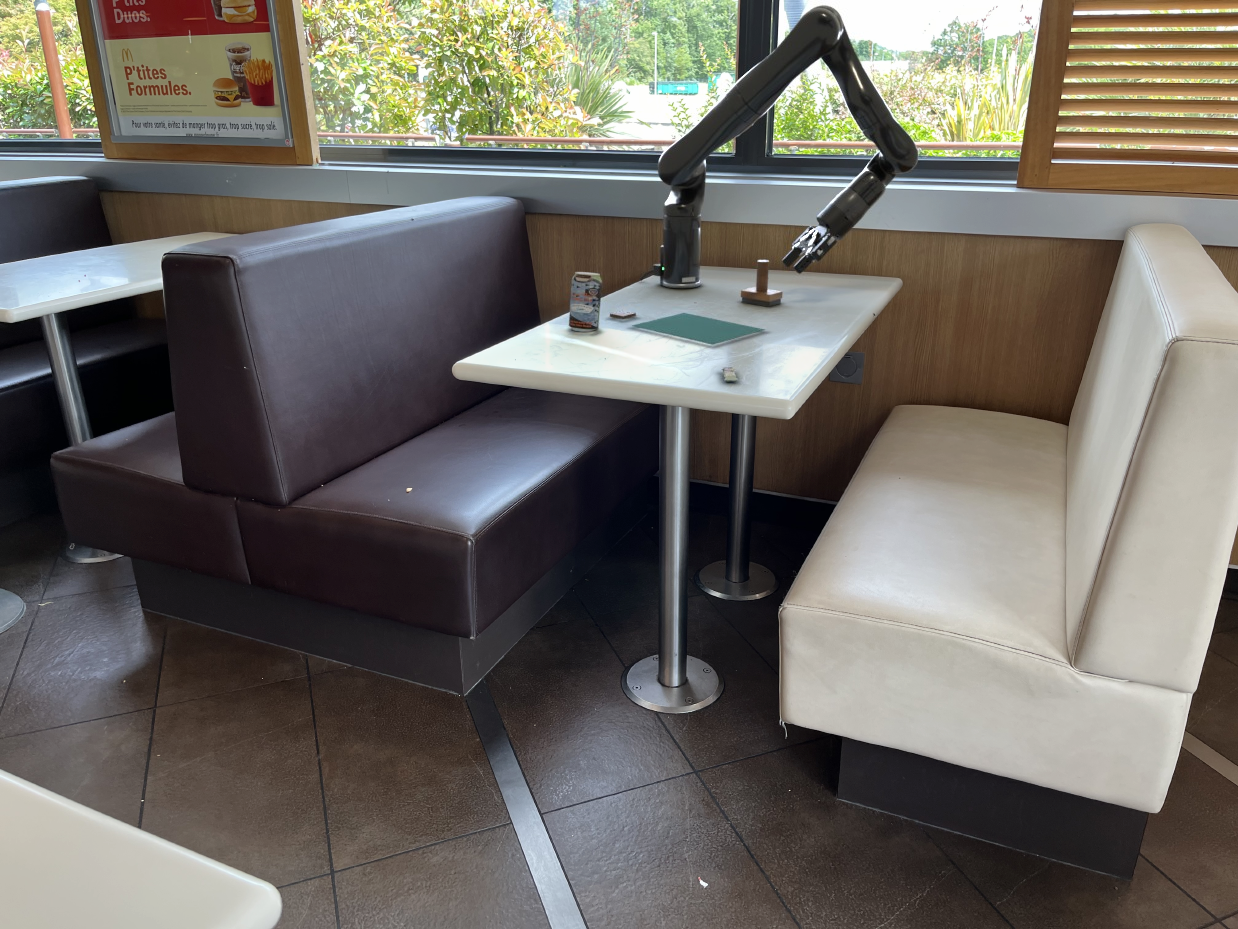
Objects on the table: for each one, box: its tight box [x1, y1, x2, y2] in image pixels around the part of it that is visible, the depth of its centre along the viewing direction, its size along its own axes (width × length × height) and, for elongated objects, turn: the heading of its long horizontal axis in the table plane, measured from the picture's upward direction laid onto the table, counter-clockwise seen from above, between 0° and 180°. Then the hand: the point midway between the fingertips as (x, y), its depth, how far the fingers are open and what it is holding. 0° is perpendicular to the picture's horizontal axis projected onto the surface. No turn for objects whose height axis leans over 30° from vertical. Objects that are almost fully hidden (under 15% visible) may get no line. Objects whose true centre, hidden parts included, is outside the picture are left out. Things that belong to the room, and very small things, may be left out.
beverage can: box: [568, 271, 603, 333], centre depth 179 cm, size 6×7×12 cm
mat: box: [631, 312, 766, 345], centre depth 181 cm, size 22×16×1 cm
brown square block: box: [609, 310, 637, 320], centre depth 191 cm, size 4×4×1 cm
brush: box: [740, 259, 783, 308], centre depth 202 cm, size 8×5×10 cm, turn 46°
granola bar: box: [721, 366, 739, 382], centre depth 150 cm, size 7×2×1 cm, turn 179°
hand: (790, 267), depth 202 cm, fingers open, 8 cm apart
